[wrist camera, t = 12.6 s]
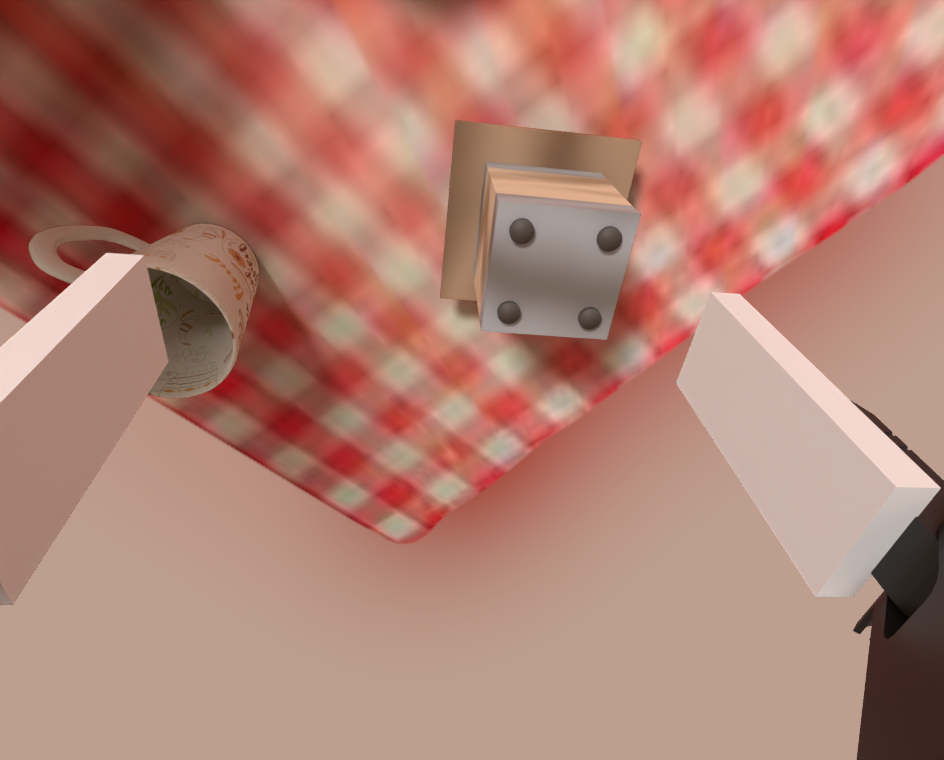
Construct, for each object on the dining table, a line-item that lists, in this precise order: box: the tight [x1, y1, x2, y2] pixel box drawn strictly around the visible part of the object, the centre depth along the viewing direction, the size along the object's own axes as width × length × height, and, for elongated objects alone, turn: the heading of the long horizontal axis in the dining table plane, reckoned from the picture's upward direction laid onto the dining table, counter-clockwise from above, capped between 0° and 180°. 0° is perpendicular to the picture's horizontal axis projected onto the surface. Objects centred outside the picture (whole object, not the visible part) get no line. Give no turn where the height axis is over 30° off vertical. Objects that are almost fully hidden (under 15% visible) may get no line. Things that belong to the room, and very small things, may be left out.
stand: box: [440, 120, 642, 301], centre depth 37 cm, size 11×11×3 cm
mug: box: [29, 224, 259, 398], centre depth 35 cm, size 8×13×10 cm, turn 63°
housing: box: [473, 161, 641, 340], centre depth 32 cm, size 7×7×8 cm
